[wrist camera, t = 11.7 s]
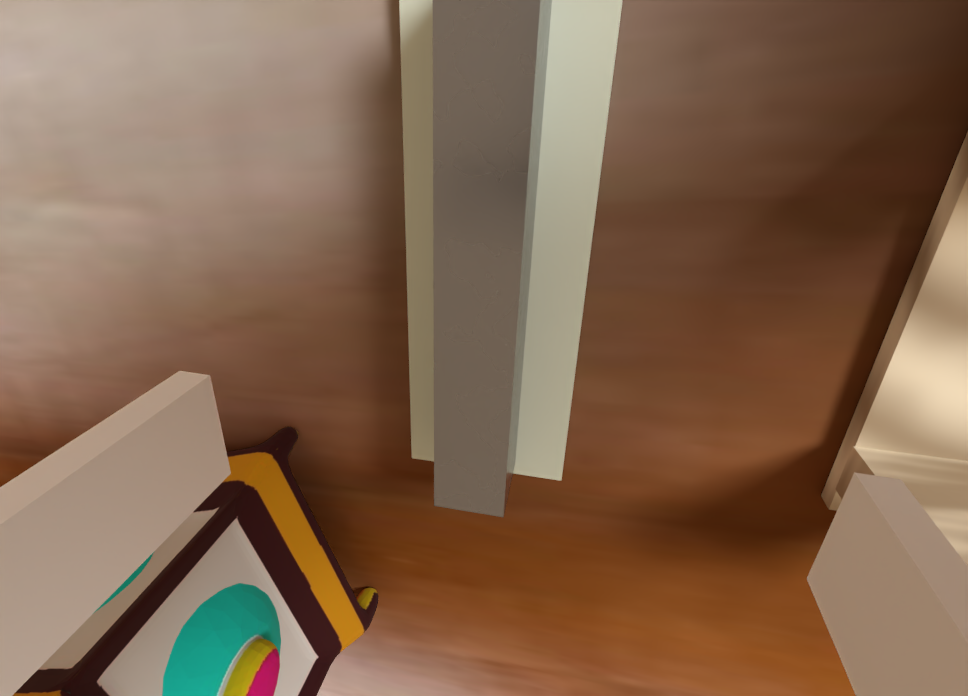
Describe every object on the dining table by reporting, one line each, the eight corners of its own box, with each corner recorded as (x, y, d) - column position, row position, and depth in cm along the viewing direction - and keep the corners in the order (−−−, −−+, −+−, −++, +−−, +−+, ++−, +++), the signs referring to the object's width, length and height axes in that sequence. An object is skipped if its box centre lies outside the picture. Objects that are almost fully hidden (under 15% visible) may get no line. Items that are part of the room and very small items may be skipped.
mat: (404, -52, 24) (397, -57, 23) (628, -52, 23) (629, -58, 22) (416, 449, 36) (411, 458, 35) (562, 470, 35) (561, 480, 34)
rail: (463, -27, 23) (432, -58, 19) (554, -26, 23) (544, -58, 18) (454, 453, 34) (434, 505, 30) (515, 462, 34) (503, 517, 29)
